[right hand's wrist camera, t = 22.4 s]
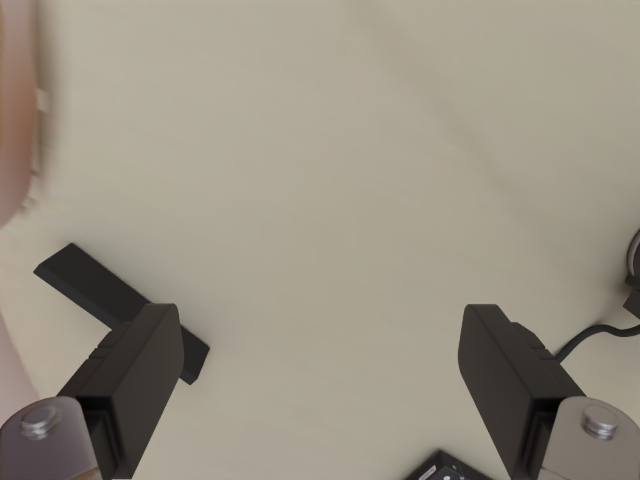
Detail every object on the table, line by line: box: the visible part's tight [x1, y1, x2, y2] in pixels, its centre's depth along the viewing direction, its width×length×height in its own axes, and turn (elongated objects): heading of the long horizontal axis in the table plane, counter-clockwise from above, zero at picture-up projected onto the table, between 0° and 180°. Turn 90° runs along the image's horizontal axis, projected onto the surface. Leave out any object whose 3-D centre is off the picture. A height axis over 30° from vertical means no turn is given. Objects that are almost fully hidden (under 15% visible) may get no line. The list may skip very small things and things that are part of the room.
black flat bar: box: [33, 243, 210, 385], centre depth 40 cm, size 18×1×5 cm, turn 45°
